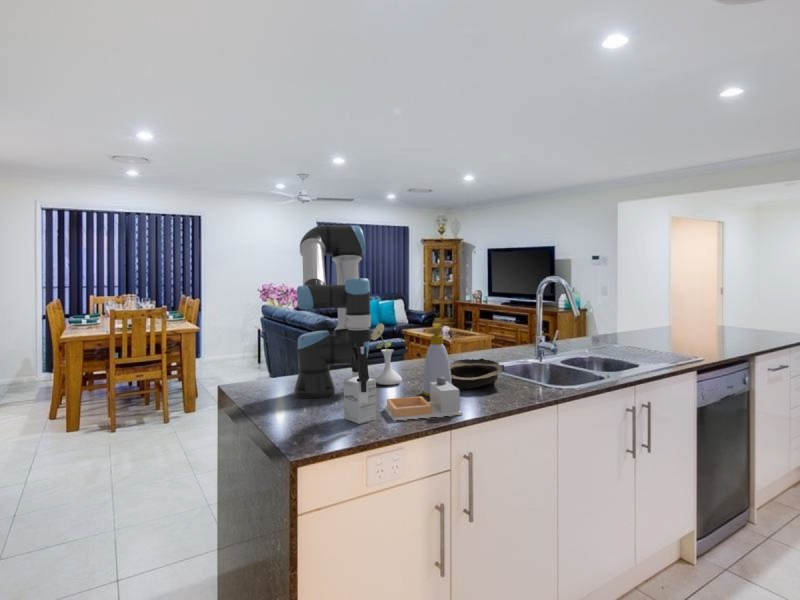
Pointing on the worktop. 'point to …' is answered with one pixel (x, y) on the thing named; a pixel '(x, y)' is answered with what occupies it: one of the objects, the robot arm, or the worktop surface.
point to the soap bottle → (436, 361)
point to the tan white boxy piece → (427, 403)
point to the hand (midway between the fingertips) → (360, 397)
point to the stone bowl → (474, 373)
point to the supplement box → (351, 401)
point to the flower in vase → (387, 373)
